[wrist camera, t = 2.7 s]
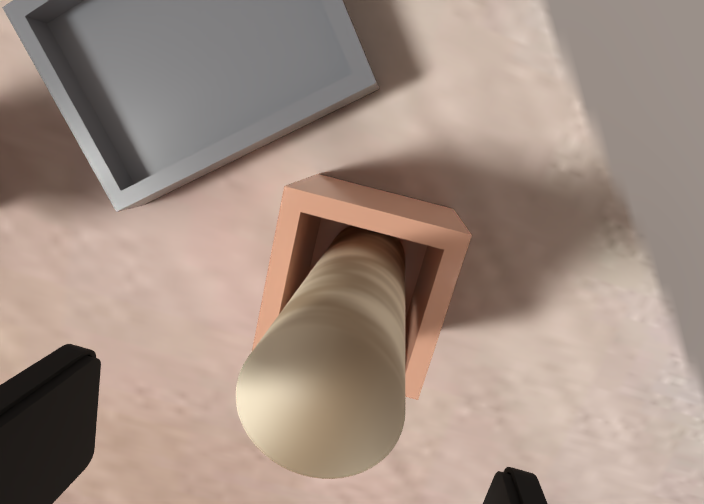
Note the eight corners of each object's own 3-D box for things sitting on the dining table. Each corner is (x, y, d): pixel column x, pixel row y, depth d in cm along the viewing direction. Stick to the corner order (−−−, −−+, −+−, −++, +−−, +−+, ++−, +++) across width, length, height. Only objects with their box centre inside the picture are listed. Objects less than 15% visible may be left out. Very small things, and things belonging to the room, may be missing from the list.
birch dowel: (414, 233, 27) (426, 355, 12) (393, 304, 28) (380, 497, 13) (338, 213, 27) (251, 306, 12) (321, 285, 29) (224, 451, 13)
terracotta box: (453, 208, 27) (471, 234, 20) (414, 333, 30) (417, 399, 22) (317, 173, 28) (284, 186, 20) (290, 299, 30) (251, 352, 23)
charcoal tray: (286, -137, 24) (271, -173, 21) (379, 88, 26) (376, 82, 23) (41, 20, 28) (2, 7, 25) (142, 205, 30) (116, 211, 27)
